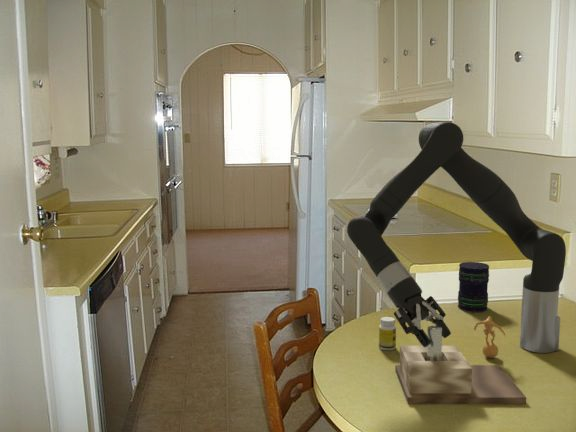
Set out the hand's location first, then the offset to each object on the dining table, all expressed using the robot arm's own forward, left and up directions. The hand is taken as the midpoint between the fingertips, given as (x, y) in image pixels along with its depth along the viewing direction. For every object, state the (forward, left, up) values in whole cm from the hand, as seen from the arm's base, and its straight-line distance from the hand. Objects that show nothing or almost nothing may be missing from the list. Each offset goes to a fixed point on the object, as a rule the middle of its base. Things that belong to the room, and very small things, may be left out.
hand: (438, 340), depth 139 cm
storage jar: (-26, -62, -12) cm, 68 cm away
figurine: (-18, -18, -12) cm, 28 cm away
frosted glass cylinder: (+1, -1, -10) cm, 10 cm away
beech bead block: (+1, -1, -10) cm, 10 cm away
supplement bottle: (+8, -26, -12) cm, 30 cm away
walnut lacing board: (-5, -1, -12) cm, 13 cm away
